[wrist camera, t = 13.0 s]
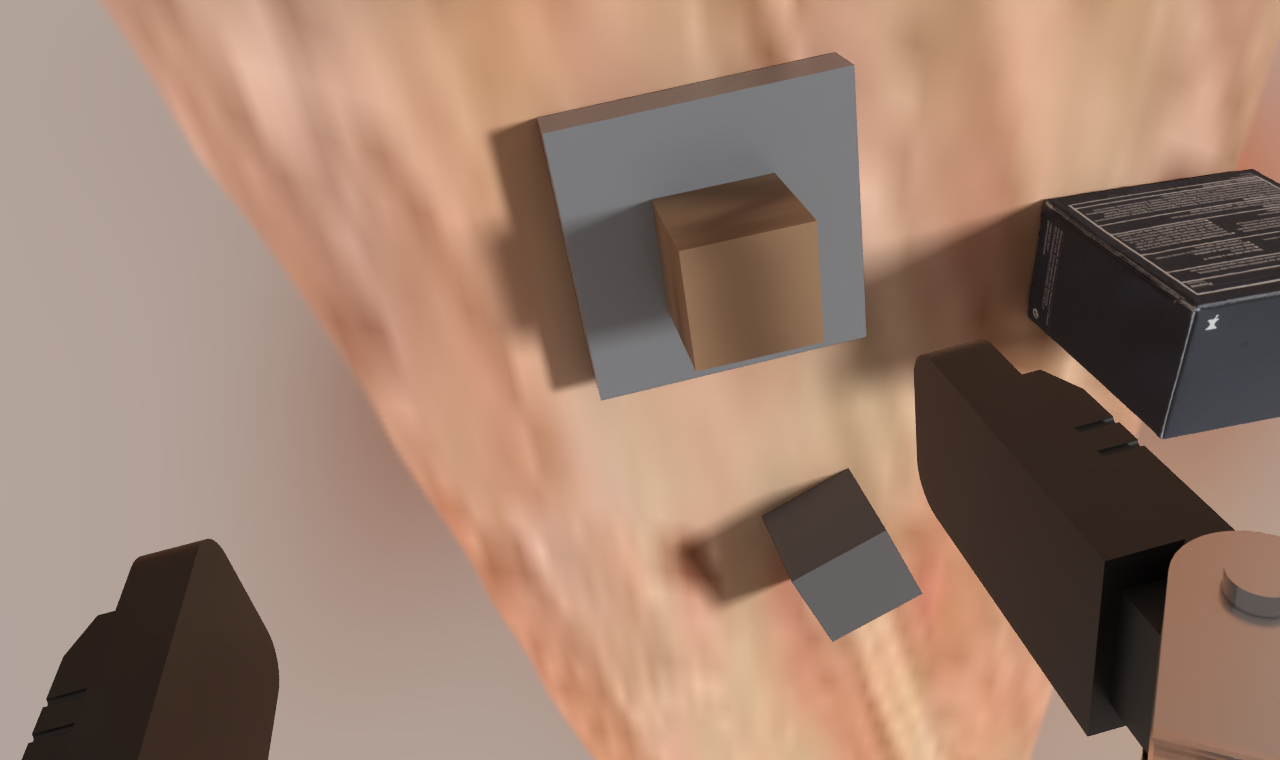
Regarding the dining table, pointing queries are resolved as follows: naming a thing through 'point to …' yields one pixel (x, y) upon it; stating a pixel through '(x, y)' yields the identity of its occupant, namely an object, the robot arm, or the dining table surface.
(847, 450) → the dining table surface
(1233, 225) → the small box
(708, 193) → the walnut cube
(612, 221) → the slate coaster
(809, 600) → the charcoal block
